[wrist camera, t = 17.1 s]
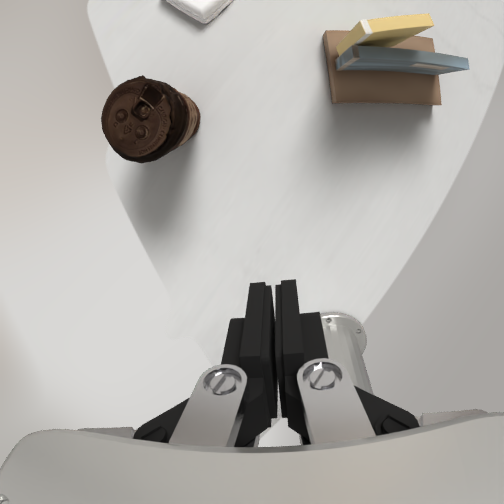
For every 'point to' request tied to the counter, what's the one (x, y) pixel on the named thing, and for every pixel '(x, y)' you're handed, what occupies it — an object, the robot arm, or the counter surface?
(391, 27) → the yellow flat slab
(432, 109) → the counter surface
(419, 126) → the counter surface
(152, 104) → the coffee cup
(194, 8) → the soap
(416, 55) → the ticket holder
